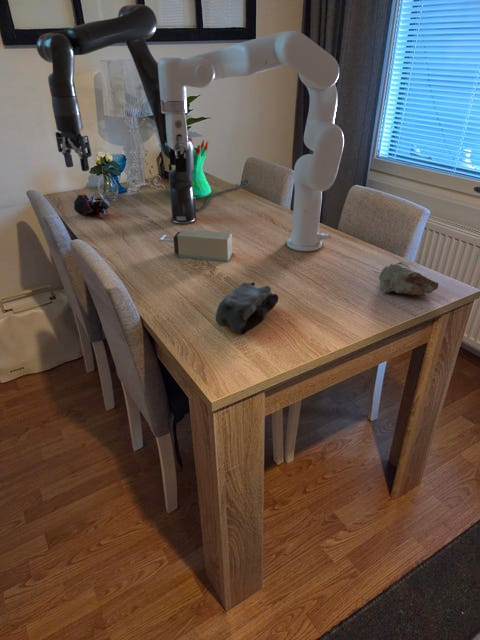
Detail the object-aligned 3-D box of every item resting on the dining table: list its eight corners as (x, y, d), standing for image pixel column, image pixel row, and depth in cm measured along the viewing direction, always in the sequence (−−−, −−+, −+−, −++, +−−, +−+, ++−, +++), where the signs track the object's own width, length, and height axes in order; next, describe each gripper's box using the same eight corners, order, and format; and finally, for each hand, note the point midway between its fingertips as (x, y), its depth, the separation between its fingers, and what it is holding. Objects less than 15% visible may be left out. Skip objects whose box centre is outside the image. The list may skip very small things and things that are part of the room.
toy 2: (167, 190, 223) (163, 137, 210) (207, 188, 227) (205, 135, 214) (172, 202, 206) (167, 145, 193) (214, 199, 210) (213, 143, 197)
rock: (249, 344, 108) (249, 316, 104) (210, 332, 113) (209, 305, 109) (280, 311, 122) (281, 285, 118) (243, 301, 127) (244, 276, 123)
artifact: (399, 307, 125) (440, 299, 130) (406, 284, 121) (449, 278, 126) (362, 275, 139) (401, 270, 144) (368, 254, 135) (408, 249, 140)
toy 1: (101, 187, 180) (72, 186, 186) (93, 207, 178) (64, 205, 183) (117, 205, 191) (89, 203, 196) (109, 223, 188) (82, 221, 194)
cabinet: (178, 256, 154) (177, 235, 150) (184, 249, 159) (183, 228, 155) (227, 261, 150) (227, 239, 146) (232, 254, 156) (231, 233, 152)
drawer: (158, 251, 155) (157, 235, 152) (164, 246, 159) (162, 230, 156) (219, 257, 151) (219, 241, 148) (223, 251, 155) (223, 235, 152)
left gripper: (92, 113, 131) (101, 170, 140) (64, 109, 139) (74, 163, 147) (70, 116, 126) (80, 174, 135) (42, 112, 134) (54, 167, 142)
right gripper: (193, 110, 122) (196, 174, 131) (181, 103, 136) (184, 161, 145) (166, 111, 120) (171, 175, 129) (156, 104, 134) (161, 162, 143)
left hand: (77, 168), depth 141 cm, fingers open, 8 cm apart
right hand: (178, 168), depth 137 cm, fingers open, 9 cm apart
